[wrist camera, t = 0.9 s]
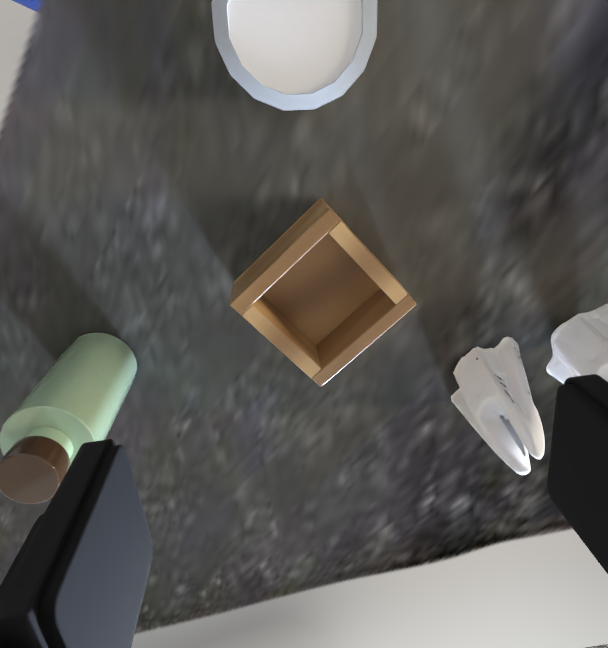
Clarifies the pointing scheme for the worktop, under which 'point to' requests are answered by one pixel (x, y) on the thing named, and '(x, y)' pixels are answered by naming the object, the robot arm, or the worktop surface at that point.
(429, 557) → the worktop surface
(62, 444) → the bottle
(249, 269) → the box
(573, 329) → the shaker set
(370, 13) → the white cup
